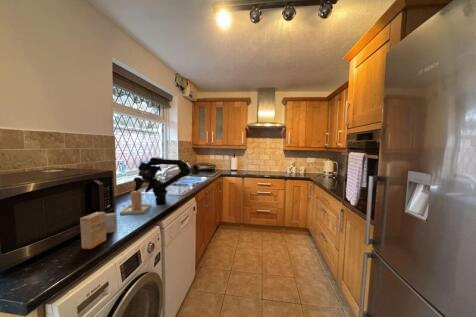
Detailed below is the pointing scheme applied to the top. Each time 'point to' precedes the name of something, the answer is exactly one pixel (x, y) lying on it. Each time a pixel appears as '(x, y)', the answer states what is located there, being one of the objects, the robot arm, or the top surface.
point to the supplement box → (93, 230)
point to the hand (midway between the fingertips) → (140, 191)
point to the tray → (129, 210)
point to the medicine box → (111, 222)
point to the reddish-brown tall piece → (136, 200)
